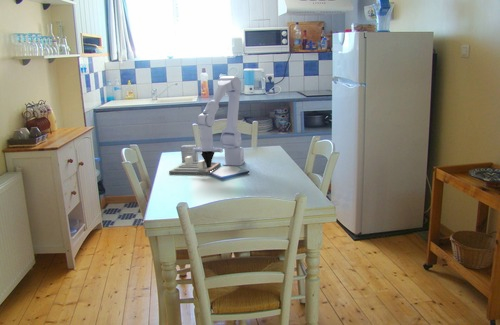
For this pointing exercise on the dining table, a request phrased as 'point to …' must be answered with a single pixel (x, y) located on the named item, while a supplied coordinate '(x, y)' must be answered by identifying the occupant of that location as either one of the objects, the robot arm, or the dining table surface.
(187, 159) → the block
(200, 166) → the block
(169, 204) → the dining table surface
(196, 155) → the medicine box
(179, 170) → the breaker panel
